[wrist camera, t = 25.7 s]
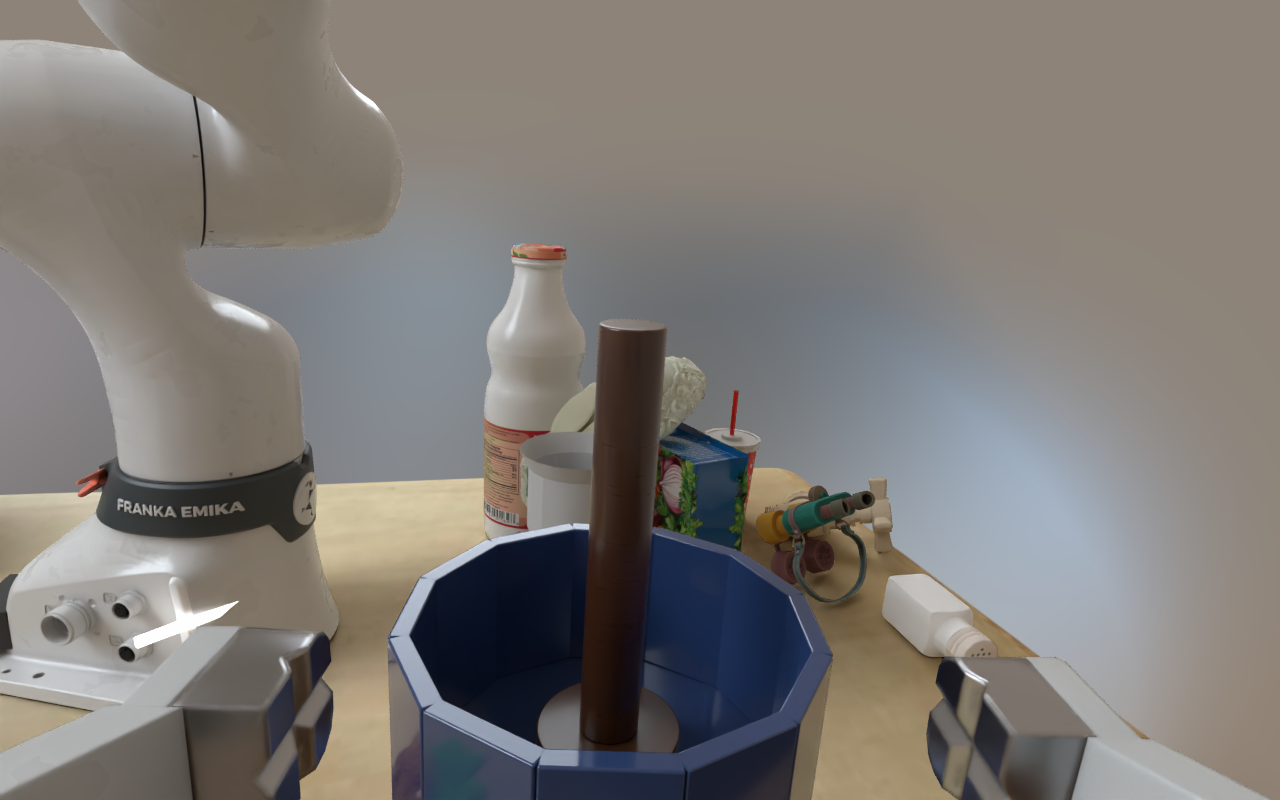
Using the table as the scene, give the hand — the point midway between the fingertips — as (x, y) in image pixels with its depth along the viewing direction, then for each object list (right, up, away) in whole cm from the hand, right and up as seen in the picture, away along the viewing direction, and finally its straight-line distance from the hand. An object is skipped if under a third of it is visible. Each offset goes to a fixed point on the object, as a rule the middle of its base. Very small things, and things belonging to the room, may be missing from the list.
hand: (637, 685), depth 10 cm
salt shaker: (+22, -13, +53) cm, 58 cm away
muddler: (-1, -8, +13) cm, 15 cm away
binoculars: (+15, -13, +57) cm, 61 cm away
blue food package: (+7, -7, +53) cm, 54 cm away
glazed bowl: (-1, -8, +13) cm, 16 cm away
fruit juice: (-11, -10, +63) cm, 65 cm away
